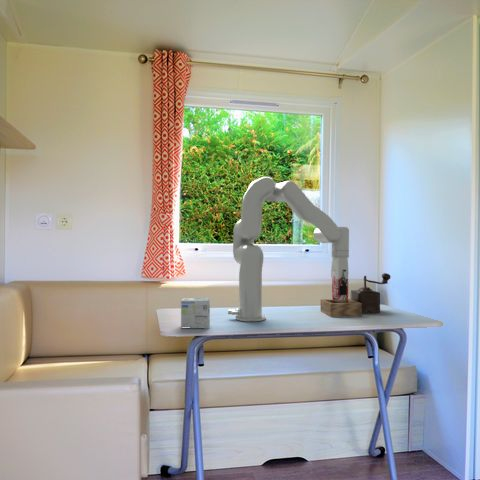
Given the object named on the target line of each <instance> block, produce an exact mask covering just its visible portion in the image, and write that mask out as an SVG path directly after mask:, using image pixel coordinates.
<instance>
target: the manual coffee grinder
mask: <svg viewBox="0 0 480 480" xmlns="http://www.w3.org/2000/svg"><path fill="white" fill-rule="evenodd" d="M381 278H382V281H381V282H379V281H374V280H368V279H367V276H366V275H364V276H363V287H360V288H358V289H355V290H354V289H353V290H350V299H351V300H354V301H356V302H359V303H362V314H380V313H381V292H380V291H377V290H373V288H370V287H368V286H367V282H368V283H374V284H378V285H386V284H389V283H388V282H389V280H390V279H391V275H390V274H389V273H385V272H384V273H382V274H381Z"/></svg>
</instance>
